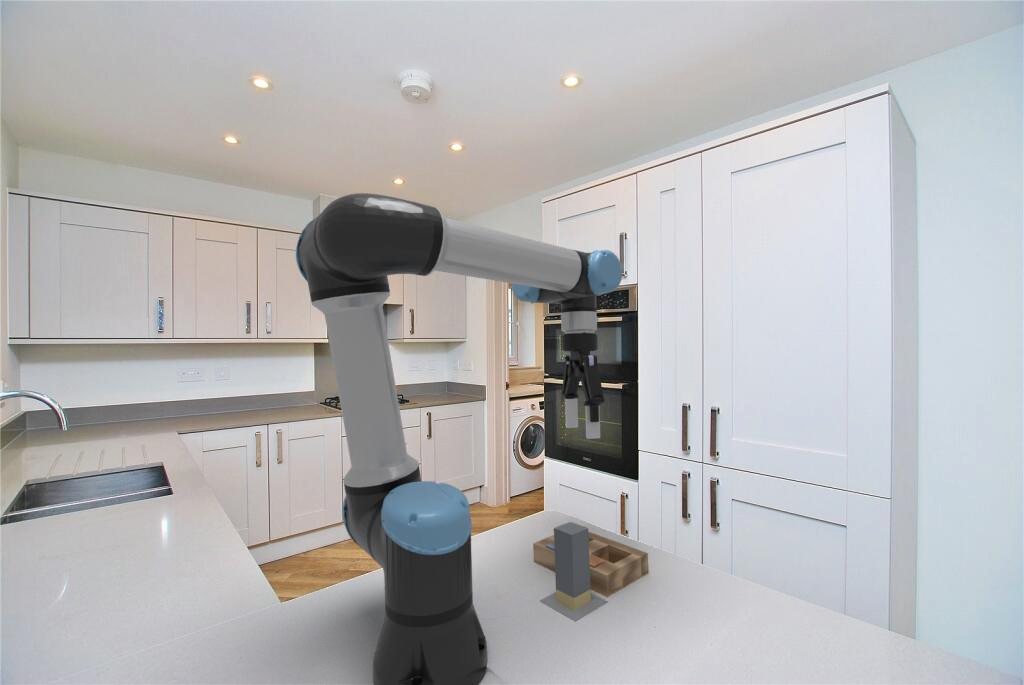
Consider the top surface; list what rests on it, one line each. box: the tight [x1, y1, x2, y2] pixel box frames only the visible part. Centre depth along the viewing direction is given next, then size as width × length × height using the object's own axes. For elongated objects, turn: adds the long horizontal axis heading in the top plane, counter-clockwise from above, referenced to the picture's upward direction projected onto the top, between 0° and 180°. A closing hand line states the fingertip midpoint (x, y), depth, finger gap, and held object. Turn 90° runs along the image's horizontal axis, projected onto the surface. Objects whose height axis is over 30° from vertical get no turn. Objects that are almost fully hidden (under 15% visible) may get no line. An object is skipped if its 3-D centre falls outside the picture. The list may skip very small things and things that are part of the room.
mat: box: [539, 591, 609, 622], centre depth 77 cm, size 8×8×1 cm
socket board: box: [532, 531, 649, 598], centre depth 89 cm, size 12×18×4 cm, turn 40°
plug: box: [553, 521, 592, 611], centre depth 77 cm, size 4×4×12 cm
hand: (581, 432), depth 99 cm, fingers open, 13 cm apart
